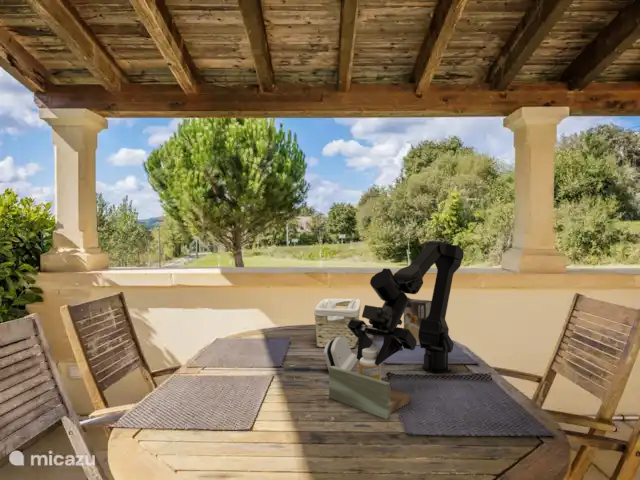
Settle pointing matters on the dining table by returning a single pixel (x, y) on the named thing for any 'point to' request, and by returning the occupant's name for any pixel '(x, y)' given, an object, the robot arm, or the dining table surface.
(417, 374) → the dining table surface
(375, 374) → the supplement bottle
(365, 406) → the wall board ledge
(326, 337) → the storage basket
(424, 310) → the coffee box
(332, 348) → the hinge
